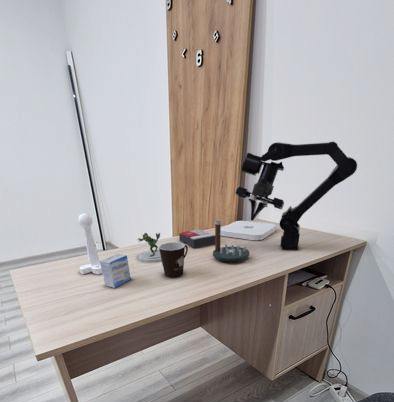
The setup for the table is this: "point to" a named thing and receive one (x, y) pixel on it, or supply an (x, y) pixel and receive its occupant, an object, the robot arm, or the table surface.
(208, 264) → the table surface
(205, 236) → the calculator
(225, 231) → the computer
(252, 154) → the robot arm
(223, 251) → the pegged disc stand
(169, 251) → the coffee mug
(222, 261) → the turntable base
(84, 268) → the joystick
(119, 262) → the medicine box
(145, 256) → the monster figurine
